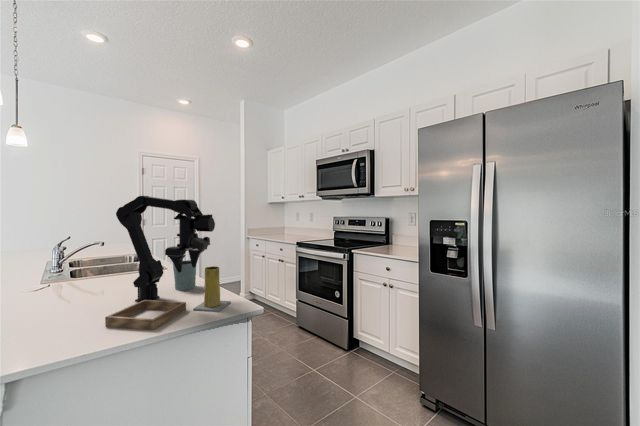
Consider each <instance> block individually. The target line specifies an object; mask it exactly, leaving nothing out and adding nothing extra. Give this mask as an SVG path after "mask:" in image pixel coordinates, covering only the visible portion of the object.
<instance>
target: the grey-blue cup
mask: <svg viewBox="0 0 640 426" xmlns="http://www.w3.org/2000/svg"><path fill="white" fill-rule="evenodd" d="M172 268H173V277H174V288H175V290H176V291H190V290H193V289H195V288H196V275H197V266H196V267H192V264H191V259H190V260H183V261H182V271H181V272H178V271H177V269H176V267H175V265H174V264H173V263H172Z"/></svg>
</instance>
